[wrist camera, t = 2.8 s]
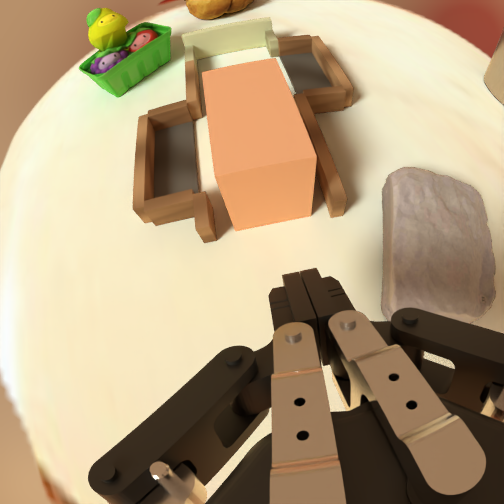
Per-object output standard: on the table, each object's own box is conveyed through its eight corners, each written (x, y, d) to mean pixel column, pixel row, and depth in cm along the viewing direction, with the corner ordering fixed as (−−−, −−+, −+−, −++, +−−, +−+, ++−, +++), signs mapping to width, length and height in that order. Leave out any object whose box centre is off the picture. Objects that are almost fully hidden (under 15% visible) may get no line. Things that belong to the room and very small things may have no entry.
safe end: (273, 45, 34) (271, 20, 30) (189, 61, 34) (181, 37, 31) (272, 41, 34) (269, 17, 31) (189, 58, 35) (181, 34, 31)
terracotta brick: (310, 216, 24) (316, 156, 18) (235, 231, 25) (214, 176, 18) (280, 119, 29) (275, 58, 22) (219, 132, 29) (201, 72, 22)
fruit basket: (114, 107, 33) (75, 38, 22) (88, 90, 36) (54, 33, 25) (184, 57, 35) (161, -12, 25) (149, 46, 38) (126, -12, 28)
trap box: (398, 205, 24) (407, 189, 21) (145, 255, 25) (132, 243, 22) (311, 41, 34) (311, 25, 31) (152, 72, 35) (146, 58, 32)
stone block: (459, 207, 25) (370, 182, 25) (489, 184, 21) (395, 150, 20) (466, 333, 21) (367, 325, 21) (504, 326, 17) (401, 317, 17)
